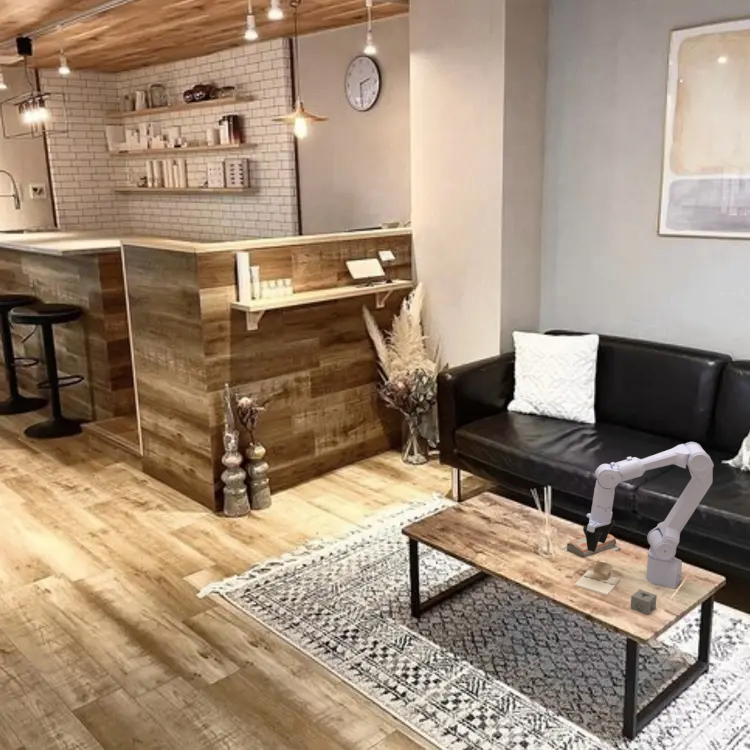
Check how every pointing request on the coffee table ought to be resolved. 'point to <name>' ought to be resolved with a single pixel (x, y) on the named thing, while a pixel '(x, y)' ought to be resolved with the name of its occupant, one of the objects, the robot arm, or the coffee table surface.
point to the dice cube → (643, 601)
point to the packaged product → (581, 546)
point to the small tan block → (602, 573)
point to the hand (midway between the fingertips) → (596, 546)
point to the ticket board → (594, 585)
